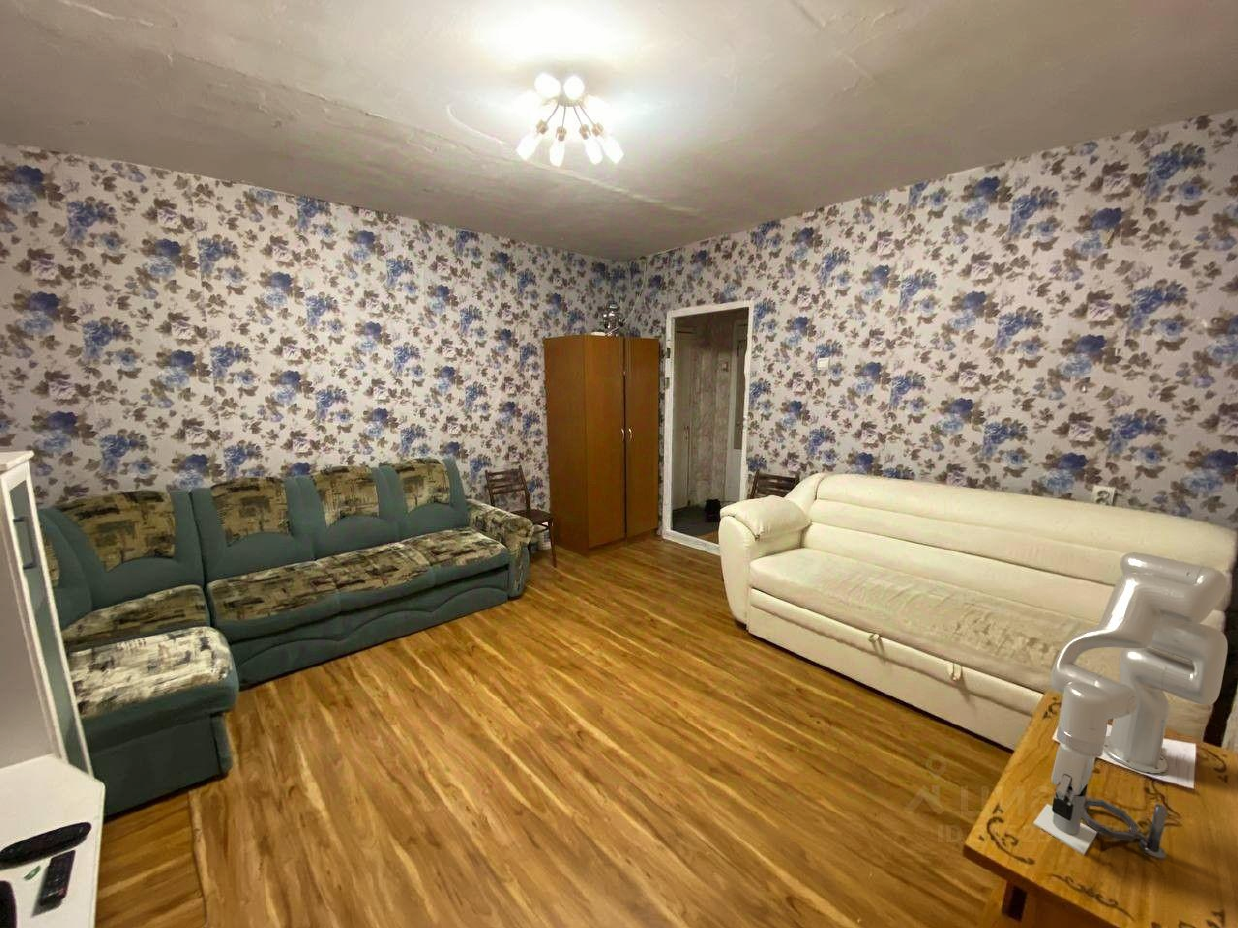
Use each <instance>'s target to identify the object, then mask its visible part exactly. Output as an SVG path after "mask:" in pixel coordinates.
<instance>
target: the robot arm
mask: <svg viewBox="0 0 1238 928" xmlns="http://www.w3.org/2000/svg"><path fill="white" fill-rule="evenodd" d="M1120 571H1121V574H1122V575H1120V576H1119V578H1118V579H1117V580H1116V584H1115V585H1114V587H1113V590H1112V592H1111V595H1110V597H1109V600H1108V601H1107V604H1106V607H1105V610H1104V612H1103V614H1102V616H1101V619H1100V621H1099V624H1098V625H1096V627H1094V628H1092V629H1089V630H1086V631H1083V632H1081V633H1078V634H1076V635H1075V636H1073V637H1071V638H1069V639H1068V640H1067V641H1066V642H1065V643H1064V644H1063V645H1062V647H1061V648H1060V650H1059V652H1058V654H1057V657H1056V659H1055V661H1054V664H1053V666H1052V669H1051V672H1050V676H1049V677H1050V679H1049V680H1050V681H1049V682H1050V684H1051V686H1052V688H1053V689H1054V690H1056V691H1057V692H1059V693H1060V694H1062V700H1061V701H1062V702H1061V706H1060V707H1061V708H1060V714H1059V719H1058V726H1057V732H1056V740H1057V741H1058V742H1059V743H1060V744H1059V746H1058V749H1057V752H1056V755H1055V756H1056V757H1055V761H1054V764H1053V770H1052V773H1051V779H1050V781H1051V782H1050V783H1052V784H1053V785H1054V786H1057V788H1056V790H1055V793H1054V796H1053V802H1052V811H1053V812H1054V813H1056V814H1058V815H1060V816H1061V817H1063V818H1065V819H1067V820H1069V821H1070V820H1071V818H1072V812H1073V806H1074V805H1073V804H1072V802H1073V799H1074V796H1075V795H1079V794H1080V793H1081V792H1082V790H1084V791H1085V793H1086V795H1087V791H1088V786H1089V785H1088V784H1089V781H1090V779H1091V776H1092V774H1093V769H1094V765H1095V760H1096V758H1099V757H1102V755H1103V751H1104V752H1105V754H1107V755H1108V756H1110V757H1111V758H1112V759H1113V760H1115V761H1116V762H1119V763H1121V764H1122V765H1124V766H1126V767H1129V768H1131V769H1134V770H1136V771H1140V772H1143V773H1147V772H1150V773H1149V774H1154V773H1159V774H1163V773H1162V772H1164V773H1165V772H1166V771H1167V769H1168V763H1167V761H1166V759H1164V757H1163V756H1161V753H1162V748H1163V745H1164V744H1163V743H1164V738H1165V734H1166V728H1167V723H1168V720H1169V716H1170V711H1171V710H1170V709H1171V707H1170V702H1169V700H1168V697H1167V696H1166V694H1165V693H1167V694H1169V695H1173V696H1175V697H1178V698H1181V699H1183V700H1186V701H1189V702H1191V703H1195V704H1198V705H1201V706H1208V705H1209V706H1210V705H1212V704H1214V703H1215V702H1216V701H1217V699H1218V697H1219V696H1220V692H1221V689H1222V683H1223V676H1224V673H1225V672H1224V671H1225V667H1226V662H1227V655H1228V647H1229V646H1228V640H1227V637H1226V635H1225V634H1224V633H1223V632H1222V631H1220V630H1219V629H1217V628H1215V627H1212V626H1211V625H1210V626H1209V625H1207V624H1203V621H1205V620H1206V619H1207V618H1208V617H1209V615H1210V614H1212V612H1213V611H1214V610H1215V608H1216V606H1217V605H1219V603H1220V602H1221V601H1222V599H1223V598H1224V597H1225V595H1226V592H1227V590H1228V580H1227V577H1226V576H1225V574H1224V573H1223V572H1222V571H1219V570H1217V569H1215V568H1211V567H1207V566H1203V565H1200V564H1199V565H1198V564H1194V563H1189V562H1185V561H1179V560H1175V559H1171V558H1167V557H1162V556H1157V555H1154V554H1149V553H1148V554H1147V553H1143V552H1126V553H1125V554H1123V555H1122V557H1121V558H1120ZM1100 648H1101V649H1102V648H1103V649H1104V648H1122V649H1121V650H1120V654H1119V660H1118V661H1119V681H1118V680H1115V679H1113V678H1110V677H1109V676H1108V677H1107V676H1105V675H1103V674H1100V673H1097V672H1095V671H1092V670H1090V669H1087V668H1084V667H1083V666H1081V665H1077V664H1076V661H1077V660H1078V658H1079V657H1080V656H1081V655H1082V654H1083V653H1085V652H1087V651H1090V650H1095V649H1100ZM1110 720H1112V724H1111V730H1110V735H1107V731H1108V723H1109V721H1110ZM1160 772H1161V773H1160ZM1069 786H1070V787H1072V789H1073V791H1072V790H1070V789H1068V788H1069ZM1067 792H1069V793H1071V794H1070V797H1069V799H1068V797H1067V796H1066V793H1067ZM1086 795H1085V798H1087V797H1086Z"/></svg>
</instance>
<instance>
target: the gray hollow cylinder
mask: <svg viewBox="0 0 1238 928" xmlns="http://www.w3.org/2000/svg"><path fill="white" fill-rule="evenodd" d="M1068 789H1070V790H1072V791H1073V789H1072V787H1070V786H1069V788H1068ZM1070 794H1071V793H1069V792H1067V793H1066V796H1067V797H1068V799H1069V797H1070ZM1085 795H1087V792H1086V793H1085V791H1084V790H1082V792H1081V793H1080V794H1079V795H1075V796H1074V799H1073V802H1072V804H1073V805H1074V806H1073V812H1072V818H1071V820H1070V821H1069V820H1067V819H1065V818H1063V817H1061V816H1060V815H1058V814H1056V813H1054V814H1053V823H1054V825H1055V826H1056V827H1057V828H1058V829H1060V830H1061V831H1063V832H1065V833H1067V834H1070V835H1077V834H1078V833H1079V829H1080V823H1082V819H1083V818H1082V812H1083V806H1084V801H1085V798H1086V797H1085Z"/></svg>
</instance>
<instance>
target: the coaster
mask: <svg viewBox="0 0 1238 928" xmlns="http://www.w3.org/2000/svg"><path fill="white" fill-rule="evenodd" d="M1052 807H1053V805H1050V804H1048V803H1046V805H1045V806H1043V809H1042V810H1041V811H1040V812H1039V814H1038V815H1037V817H1036V818H1035V819H1034V820H1033V823H1032V825H1033V826H1034V827H1036V826H1037V827H1036V828H1038V827H1039V828H1041V829H1043V830H1044V831H1046V832H1048V833H1049V834H1051V835H1052V836H1051V835H1050V836H1051V837H1053V836H1054V837H1056V838H1057V839H1056V838H1055V839H1056V840H1058V839H1059V840H1060V841H1059V840H1058V841H1059V842H1061V843H1063V844H1064V845H1066V846H1068V847H1069V848H1071V849H1073V850H1074V851H1076V852H1078V853H1079V854H1081V855H1083V856H1085V855H1086V853H1087V851H1088V850H1089V848H1090V846H1091V845H1092V843H1093V841H1094V839H1095V837H1096V836H1097V834H1098V830H1096V829H1094V828H1093V827H1091V826H1089V825H1087V824H1084V823H1082V822H1081V823H1080V829H1079V833H1078V834H1077V835H1070V834H1067V833H1065V832H1063V831H1061V830H1060V829H1058V828H1057V827H1056V826H1055V825H1054V823H1053V814H1054V812H1053V811H1052ZM1039 828H1038V829H1039ZM1041 829H1040V830H1041ZM1043 830H1042V831H1043ZM1044 831H1043V832H1044ZM1046 832H1045V833H1046ZM1048 833H1047V834H1048ZM1049 834H1048V835H1049ZM1054 837H1053V838H1054Z"/></svg>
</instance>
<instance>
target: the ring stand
mask: <svg viewBox="0 0 1238 928" xmlns="http://www.w3.org/2000/svg"><path fill="white" fill-rule="evenodd" d="M1090 807H1097V808H1102V809H1104V810H1106V811H1108V812H1110V813H1112V814H1114V815H1115V816H1117V817H1119V818H1121V819H1122V820H1123V821H1124V822H1125V824H1126V825H1128V828H1129V829H1128V831H1121V830H1116V829H1115V830H1114V829H1113V830H1112V829H1111V828H1110V827H1107V826H1105V825H1103V824H1102V823H1100V822H1098V821H1096V820H1094V819H1093V818H1092V817H1091V815H1089V813H1088V812H1087V811H1090ZM1153 808H1154V809H1153V812H1152V813H1153V814H1152V818H1151V823H1150V829H1149V832H1148V835H1145V834H1144V833H1142V832H1140V831H1139V829H1140V826H1139V825H1138V824H1137V823H1136V822H1135V821H1134V820H1133V819H1132V817H1131V816H1129V815H1128V813H1127V811H1125V810H1123V809H1121V808H1119V807H1117V806H1115V805H1113V804H1111V803H1109V802H1107V801H1106V800H1103V799H1099V798H1092V797H1091V798H1090V797H1085V801H1084V806H1083V812H1082V818H1081V819H1083V820H1084V822H1085V823H1086V825H1087V826H1088V827H1090V828H1092V829H1093V830H1095V831H1097V834H1096V836H1098V837H1101V838H1103V834H1104V835H1105V836H1107V837H1109V838H1111V839H1113V840H1121V841H1127V842H1135V839H1136V838H1138V840H1139V839H1140V841H1139V843H1138V846H1139V848H1140V849H1141V851H1142V852H1143V853H1145V854H1146V855H1148V856H1150V857H1152V858H1154V859H1157V860H1165V859H1166V857H1167V853H1166V851H1165V850H1164V849H1163V848H1162V847H1160V845H1161V842H1162V837H1163V833H1164V829H1165V828H1164V827H1165V823H1166V818H1167V814H1168V809H1167V807H1165V806H1163V805H1161V804H1157V803H1156V804H1154V807H1153Z"/></svg>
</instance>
